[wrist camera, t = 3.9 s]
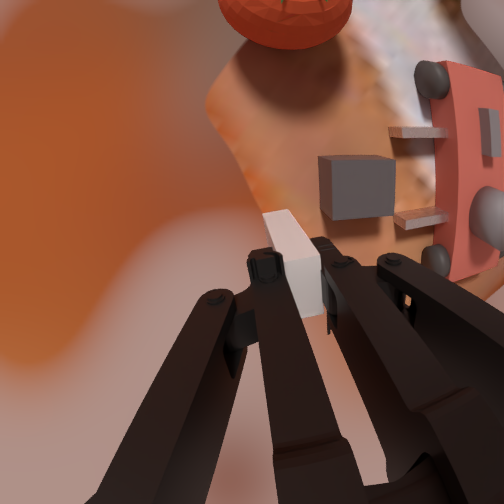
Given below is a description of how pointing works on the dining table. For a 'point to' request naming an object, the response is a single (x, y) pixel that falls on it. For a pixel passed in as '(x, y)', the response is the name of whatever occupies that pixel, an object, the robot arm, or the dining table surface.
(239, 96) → the dining table surface
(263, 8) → the tomato
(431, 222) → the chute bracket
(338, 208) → the grey cube
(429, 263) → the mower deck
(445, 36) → the dining table surface
